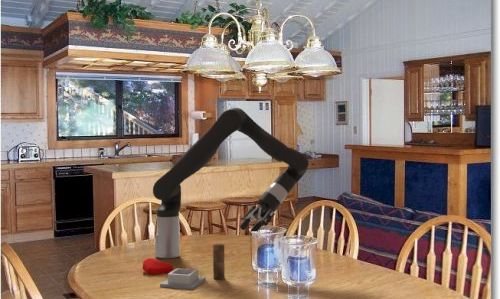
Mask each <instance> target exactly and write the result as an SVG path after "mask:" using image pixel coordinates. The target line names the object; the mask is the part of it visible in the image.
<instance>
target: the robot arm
mask: <svg viewBox="0 0 500 299" xmlns="http://www.w3.org/2000/svg"><path fill="white" fill-rule="evenodd" d="M237 131H238V132H240V133H242V134H243V135H245V136H246V137H248V138H249V139H251V140H252V141H253V142H254V143H255V144H256V145H257V146H258V147H259V148H260V149H261V150H262V151H263V152H264V153H265V154H267V155H268V156H269V157H271V159H274V160H275V161H277V162H279V163H282V162H283V163H285V164H286V165H288V166H287V167H286V168H285V169H284V171H283V172H281V173H279V175H278V176H277V177H276V179H275V180H274V181H273V182H272V184H270V185H269V186H268V188H266V190H265V191H264V192H263V194H262V195H261V196H260V197H259V199H258V203H259V204H258V205H257V206H256V205H254V204H253V205H252V206H251V207H250V208H249V209H248V210H247V212H246V213H245V214H244V215H243V218H244V221H242V223H240V224H239V228H240V229H241V230H242V231H244V230H246V229H247V228H248V227H249V225H250V224H251V223H252V222H253V221H254V222H255V221H256V220H257V222H255V224H254V225H253V226H252V227H251V229H250V232H251V233H252V231H257V232H258V231H259V230H260V228H262V227H267V226H268V225H269V223H270V222H271V220H273V217H275V215H276V213H275V212H276V211H277V209H279V207H280V206H281V204H282V203H283V202H284V201H285V199H286V197H287V196H288V194H289V193H290V192H291V190H293V188H294V186H295V185H296V184H297V183H298V182H299V181H300V180H301V179H302V178H303V176H304V175H305V174H306V173H307V170H308V167H309V164H310V163H309V162H310V161H309V159H308V158H307V156H306V155H305V154H303V153H302V152H300V151H298V150H297V149H294V148H292V147H289V146H287V145H286V144H285V143H284V142H282V141H281V140H280V139H277V138H276V137H275V136H274V135H272V134H270V132H268V131H266V130H265V129H264V128H263V127H261V126H260V125H259V124H258V123H256V121H255V120H253V119H252V117H250V116H249V115H248V114H247V113H246V112H245V110H243V109H242V108H239V107H231V108H227V109H225V110H224V111H223V112H222V113H221V114H220V116H219V117H218V118H217V119H216V121H215V122H214V123H213V125H212V126H211V127H210V128H209V129H208V130H207V131H206V132H204V134H203V135H202V136H200V138H199V139H198V140H196V142H195V143H193V144H192V146H190V147H189V149H187V151H186V152H185V153H184V154H183V155H182V156H181V157H180V158H179V159H178V161H177V162H176V163H174V165H173V166H172V167H171V168H170V169H169V170H167V172H166V173H164V174H163V175H162V176H161V177H160V178H159V179H157V180H156V181H155V183H154V184H153V186H152V194H153V196H154V197H155V199H156V200H159V201H160V202H161V203H160V205H159V207H157V209H156V234H154V235H155V236H154V239H155V245H154V246H155V251H154V252H155V258H160V259H174V258H175V259H176V258H178V257H180V210H181V207H182V204H181V203H182V187H181V186H182V185H181V184H182V183H183V182H184V181H185V180H186V179H189V178H190V177H192V176H194V175H195V173H197V172H199V171H200V170H201V169H203V167H205V166H206V165H207V164H208V163H209V162H210V160H212V158H214V156H215V154H216V153H217V151H218V149H219V147H220V146H221V145H222V144H223V142H224V141H225V140H227V138H229V137H230V136H231V135H232V134H234V133H235V132H237Z"/></svg>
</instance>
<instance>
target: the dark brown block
mask: <svg viewBox="0 0 500 299" xmlns="http://www.w3.org/2000/svg"><path fill="white" fill-rule="evenodd" d="M212 253H213V254H212V258H213V259H212V261H213V262H212V263H213V266H212V267H213V269H212V270H213V273H212V274H213V277H212V279H213V280H216V281H222V280H224V279H225V278H226V275H225V271H226V270H225V269H226V268H225V244H224V243H223V244H221V243H216V244H215V243H214V244H213V245H212Z"/></svg>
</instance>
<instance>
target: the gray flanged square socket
mask: <svg viewBox="0 0 500 299" xmlns="http://www.w3.org/2000/svg"><path fill="white" fill-rule="evenodd" d="M206 278H207V277H206V276H199V269H193V268H180V267H177V268H175V269H173V270H172V271H171V272H170V273H167V279H166V280H164V281H162V282H161V283H160V284H159V287H160V288H172V289H181V290H182V289H184V290H194V289H196V288H197V287H198V286H200V285H201V284H202V283H203V282H204V281H206Z"/></svg>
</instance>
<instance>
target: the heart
mask: <svg viewBox="0 0 500 299" xmlns="http://www.w3.org/2000/svg"><path fill="white" fill-rule="evenodd" d="M142 270H143V271H144V272H145V273H146V274H147V275H151V276H152V275H153V276H158V275H165V274H169V273H170V272H172V271H174V266H173V265H172V263H170V262H167V261H159V260H158V259H157V258H154V257H148V258H146V259H144V260H143V262H142Z"/></svg>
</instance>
